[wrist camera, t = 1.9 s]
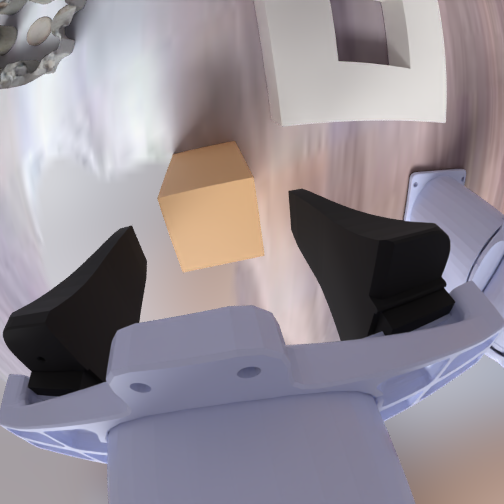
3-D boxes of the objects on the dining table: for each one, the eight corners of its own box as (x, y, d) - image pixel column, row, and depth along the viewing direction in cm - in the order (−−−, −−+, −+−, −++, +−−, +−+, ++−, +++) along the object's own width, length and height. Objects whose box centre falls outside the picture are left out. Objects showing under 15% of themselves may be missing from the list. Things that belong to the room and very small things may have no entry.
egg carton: (100, -18, 8) (78, -36, 5) (69, 81, 12) (38, 86, 9) (-8, 6, 5) (-38, 4, 1) (-28, 92, 9) (-61, 102, 5)
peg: (243, 196, 19) (264, 255, 13) (187, 208, 19) (183, 272, 13) (234, 141, 16) (253, 177, 11) (173, 154, 16) (157, 198, 11)
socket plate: (424, 115, 17) (445, 123, 15) (271, 120, 16) (281, 126, 14) (410, -25, 9) (430, -29, 7) (243, -51, 8) (250, -67, 6)
